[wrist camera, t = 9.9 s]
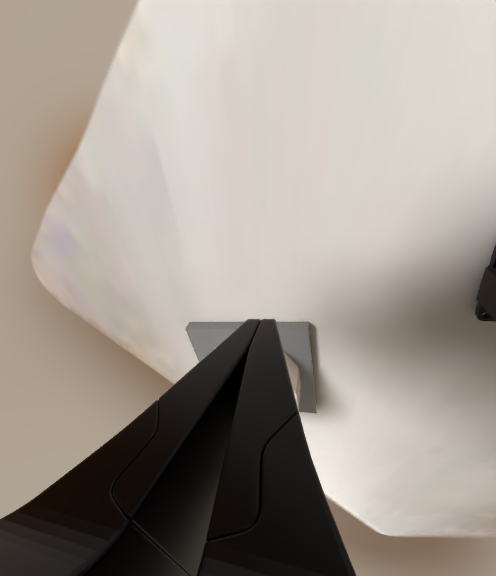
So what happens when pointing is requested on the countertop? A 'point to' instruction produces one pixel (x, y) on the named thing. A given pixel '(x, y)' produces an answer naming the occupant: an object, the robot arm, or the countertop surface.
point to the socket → (294, 348)
